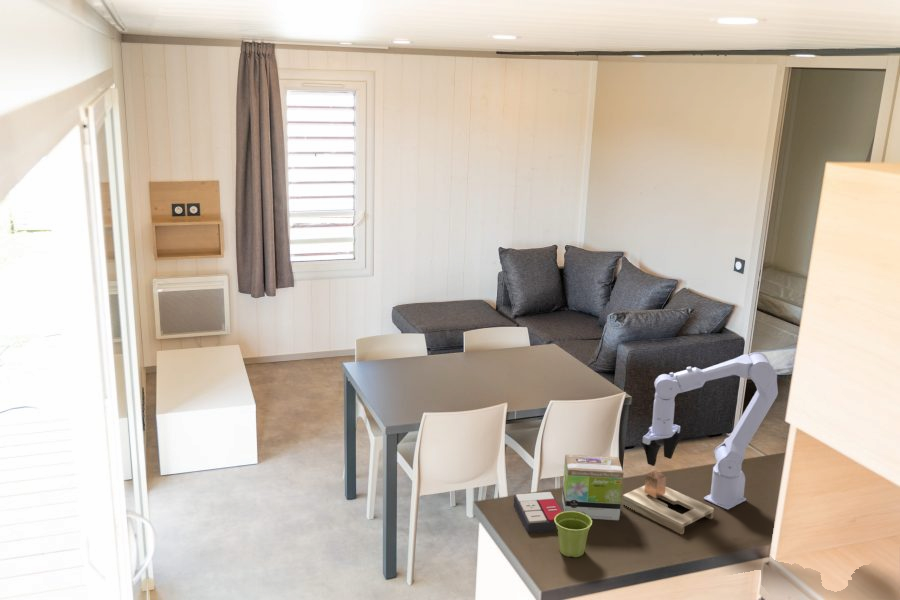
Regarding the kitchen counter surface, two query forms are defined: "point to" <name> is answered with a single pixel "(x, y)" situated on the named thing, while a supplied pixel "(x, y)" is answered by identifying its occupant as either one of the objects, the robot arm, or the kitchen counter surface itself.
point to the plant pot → (572, 532)
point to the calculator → (537, 511)
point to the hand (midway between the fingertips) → (659, 461)
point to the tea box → (593, 486)
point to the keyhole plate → (661, 511)
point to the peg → (655, 484)
